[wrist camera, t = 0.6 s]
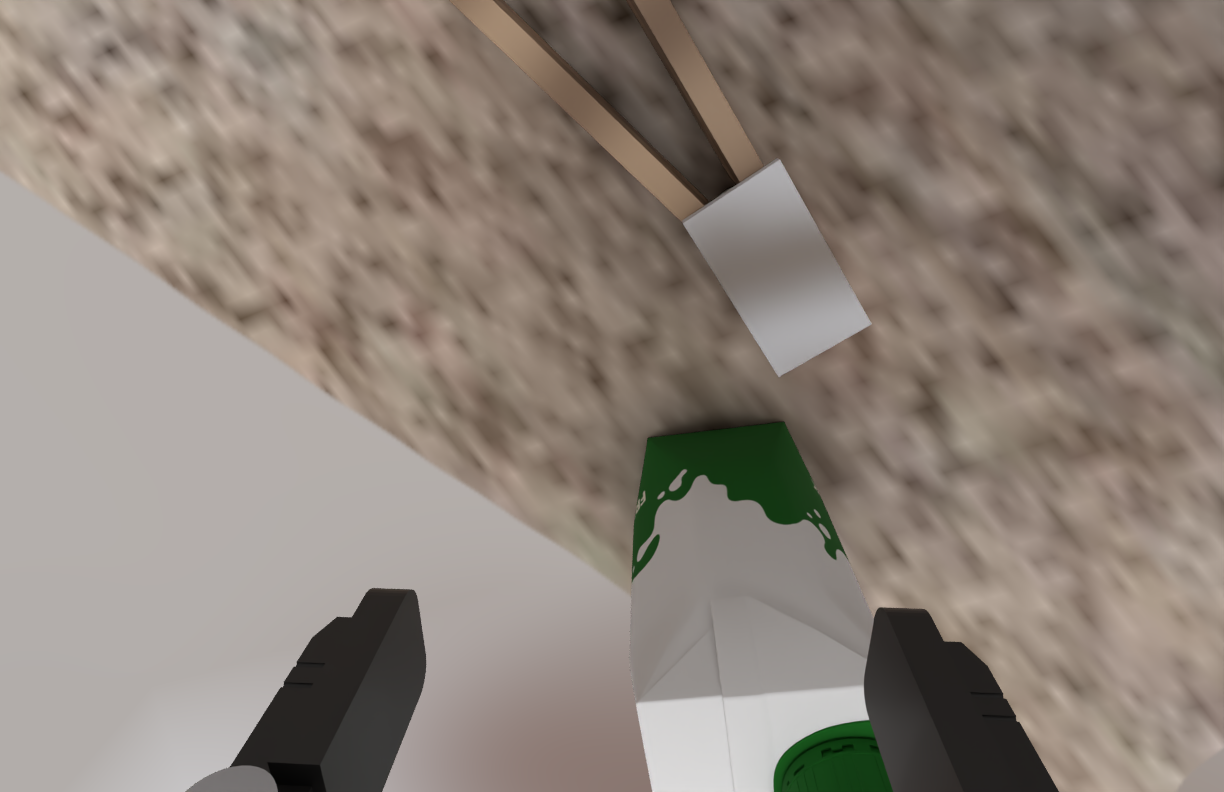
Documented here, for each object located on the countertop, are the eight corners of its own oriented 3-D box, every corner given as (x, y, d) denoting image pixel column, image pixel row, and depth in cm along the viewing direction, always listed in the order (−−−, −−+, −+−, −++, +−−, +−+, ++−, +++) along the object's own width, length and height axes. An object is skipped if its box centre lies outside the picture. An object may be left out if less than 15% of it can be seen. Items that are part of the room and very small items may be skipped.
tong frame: (828, 280, 33) (871, 324, 27) (754, 325, 34) (778, 377, 28) (593, -135, 27) (577, -204, 21) (512, -66, 28) (473, -113, 22)
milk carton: (809, 545, 39) (952, 944, 21) (647, 561, 40) (647, 957, 22) (801, 401, 36) (963, 725, 17) (624, 423, 37) (602, 751, 18)
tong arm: (775, 211, 32) (801, 234, 27) (732, 255, 33) (748, 286, 28) (506, -59, 28) (474, -94, 23) (465, -2, 29) (425, -23, 24)
